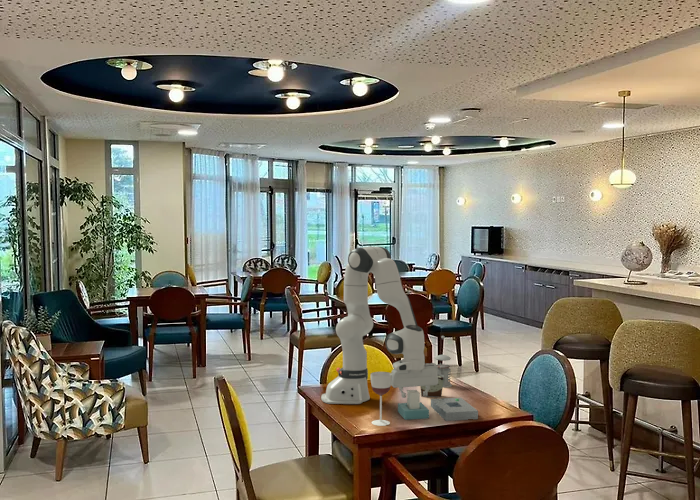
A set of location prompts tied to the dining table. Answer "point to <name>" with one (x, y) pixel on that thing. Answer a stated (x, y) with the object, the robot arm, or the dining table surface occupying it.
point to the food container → (434, 388)
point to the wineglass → (381, 391)
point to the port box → (454, 409)
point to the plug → (413, 399)
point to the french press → (444, 369)
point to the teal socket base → (413, 412)
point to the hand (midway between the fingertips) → (414, 396)
